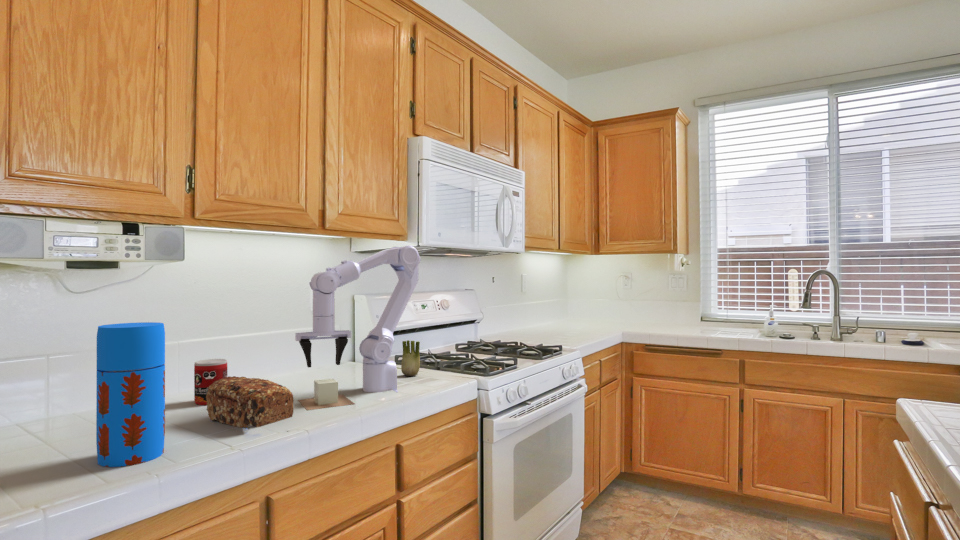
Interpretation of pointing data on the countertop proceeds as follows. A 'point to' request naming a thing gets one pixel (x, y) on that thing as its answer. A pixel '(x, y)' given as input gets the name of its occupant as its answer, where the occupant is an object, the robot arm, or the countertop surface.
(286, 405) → the bread
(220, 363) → the canned food
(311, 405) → the post base
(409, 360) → the fennel bulb
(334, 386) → the beige cube
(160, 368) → the thermos
